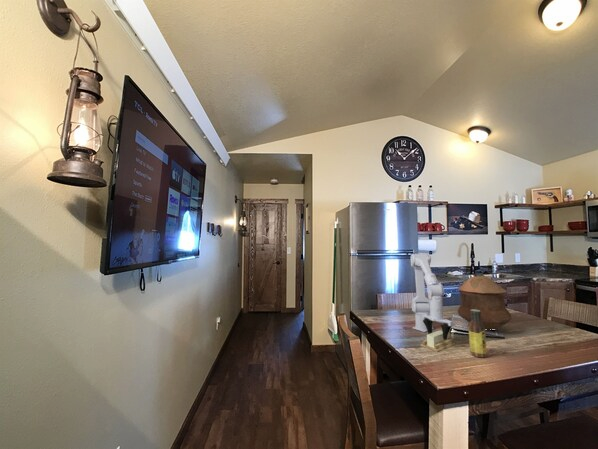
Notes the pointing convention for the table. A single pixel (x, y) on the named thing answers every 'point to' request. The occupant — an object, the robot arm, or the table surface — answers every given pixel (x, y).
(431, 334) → the cream rectangular block
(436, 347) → the tan flat piece
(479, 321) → the sauce bottle
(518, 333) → the table surface
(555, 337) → the table surface
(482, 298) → the pottery vessel
